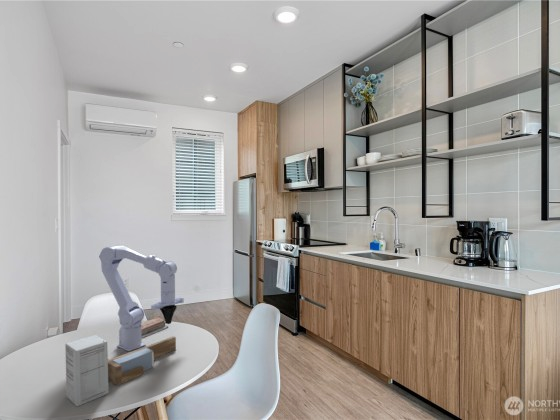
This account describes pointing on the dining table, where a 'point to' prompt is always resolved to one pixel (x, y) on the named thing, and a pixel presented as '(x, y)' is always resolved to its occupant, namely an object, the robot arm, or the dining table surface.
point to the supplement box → (86, 369)
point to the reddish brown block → (152, 326)
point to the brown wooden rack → (119, 378)
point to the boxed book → (136, 360)
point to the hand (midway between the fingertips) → (168, 323)
